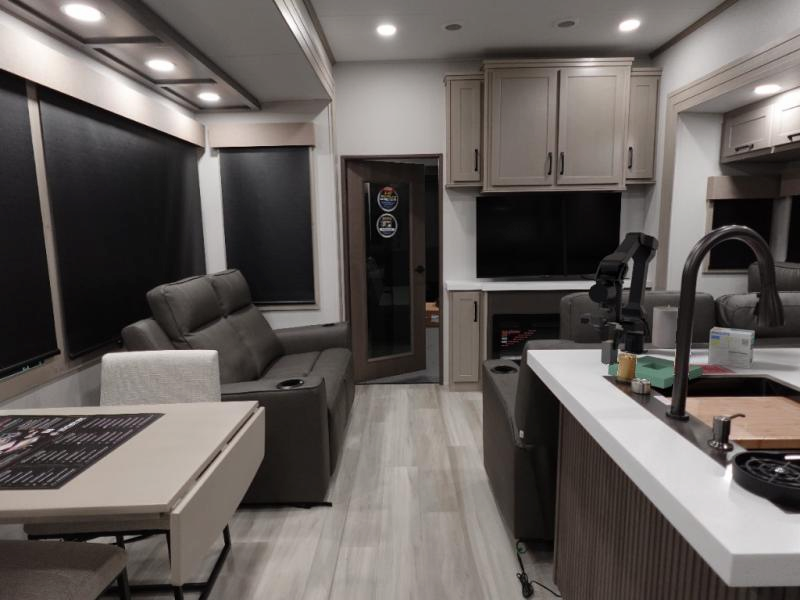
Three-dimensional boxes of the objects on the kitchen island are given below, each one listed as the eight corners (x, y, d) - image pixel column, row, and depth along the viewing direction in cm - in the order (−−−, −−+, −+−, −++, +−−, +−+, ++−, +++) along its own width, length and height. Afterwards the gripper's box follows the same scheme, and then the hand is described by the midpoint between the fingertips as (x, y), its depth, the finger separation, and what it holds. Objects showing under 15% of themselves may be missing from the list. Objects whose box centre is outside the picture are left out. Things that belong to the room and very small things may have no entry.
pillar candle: (664, 341, 177) (665, 301, 175) (689, 347, 168) (691, 305, 166) (645, 345, 173) (647, 304, 171) (670, 350, 164) (672, 307, 162)
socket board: (647, 363, 148) (647, 355, 147) (702, 375, 134) (702, 366, 134) (608, 374, 137) (608, 365, 137) (663, 388, 124) (664, 379, 123)
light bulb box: (752, 365, 144) (755, 330, 143) (749, 369, 139) (752, 333, 138) (711, 359, 151) (713, 326, 150) (707, 363, 147) (709, 329, 145)
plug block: (608, 361, 151) (609, 339, 150) (617, 363, 149) (618, 341, 148) (601, 363, 149) (601, 341, 148) (609, 365, 146) (610, 342, 146)
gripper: (569, 298, 150) (568, 347, 152) (624, 305, 134) (622, 359, 136) (591, 295, 156) (589, 342, 158) (647, 301, 140) (644, 353, 142)
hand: (609, 349), depth 148 cm, fingers closed on plug block, 3 cm apart
